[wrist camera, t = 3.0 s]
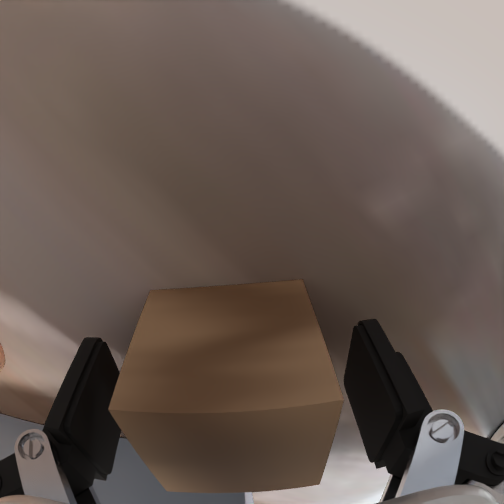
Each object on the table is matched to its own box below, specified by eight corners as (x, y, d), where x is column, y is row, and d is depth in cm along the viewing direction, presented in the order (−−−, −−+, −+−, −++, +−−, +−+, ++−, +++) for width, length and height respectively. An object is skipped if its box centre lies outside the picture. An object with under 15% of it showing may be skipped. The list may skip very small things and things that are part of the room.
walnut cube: (302, 277, 10) (343, 399, 6) (297, 379, 12) (319, 484, 8) (150, 288, 10) (108, 409, 6) (179, 386, 12) (166, 491, 8)
